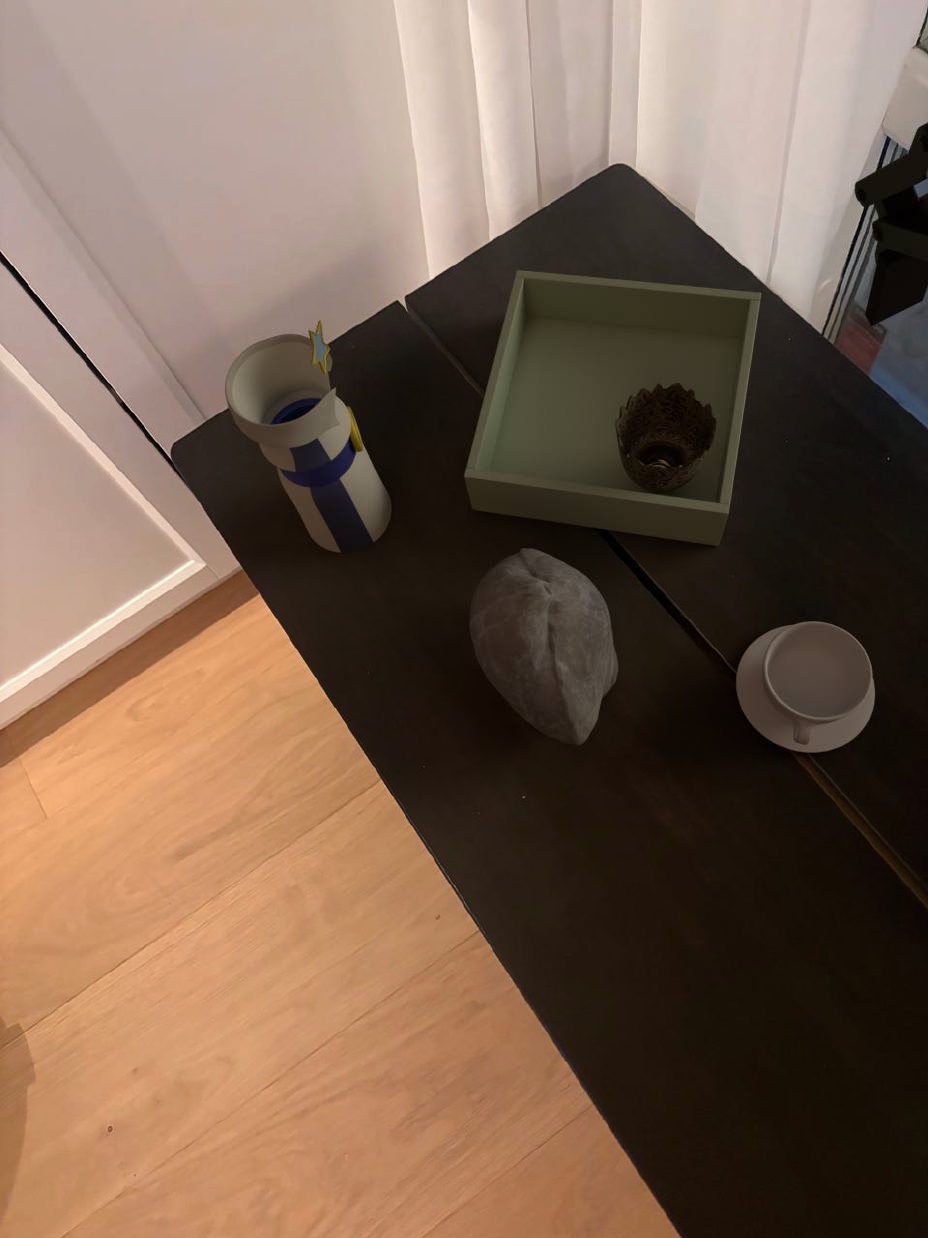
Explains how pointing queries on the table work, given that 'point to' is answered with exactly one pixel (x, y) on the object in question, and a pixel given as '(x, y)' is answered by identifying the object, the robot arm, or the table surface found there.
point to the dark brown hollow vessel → (664, 436)
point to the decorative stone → (545, 642)
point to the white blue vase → (309, 438)
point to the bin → (608, 401)
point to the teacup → (806, 686)
